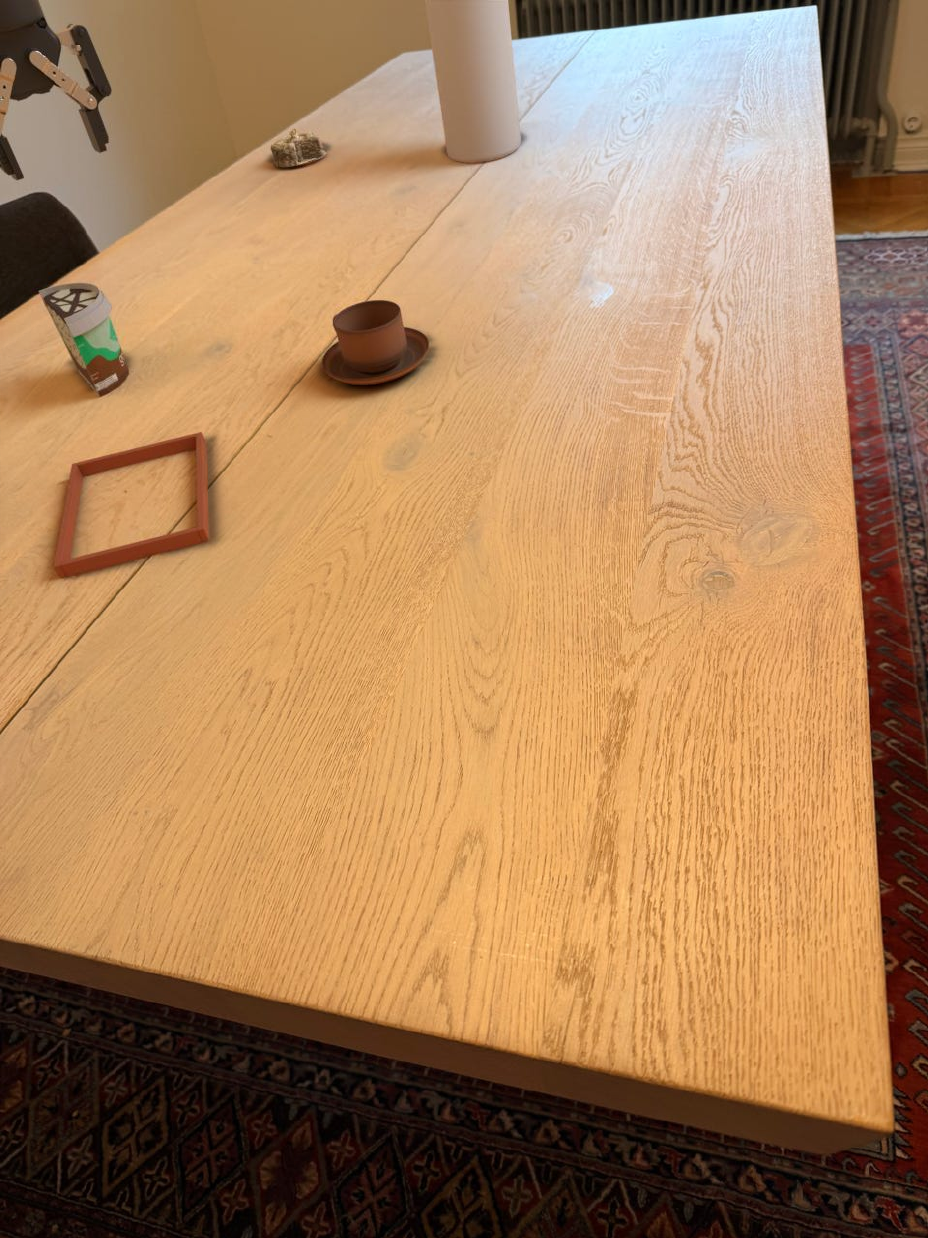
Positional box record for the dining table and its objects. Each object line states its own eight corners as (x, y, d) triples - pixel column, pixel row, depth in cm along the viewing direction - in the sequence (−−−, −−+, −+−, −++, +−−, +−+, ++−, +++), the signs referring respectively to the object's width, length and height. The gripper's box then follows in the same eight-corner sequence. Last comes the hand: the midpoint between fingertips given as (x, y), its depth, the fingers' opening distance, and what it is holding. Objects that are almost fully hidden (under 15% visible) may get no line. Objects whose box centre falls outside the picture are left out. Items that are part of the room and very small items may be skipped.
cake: (263, 171, 164) (252, 139, 161) (299, 153, 170) (290, 122, 167) (301, 169, 159) (291, 136, 156) (338, 151, 164) (329, 118, 161)
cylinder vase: (485, 135, 159) (465, -38, 142) (537, 143, 151) (522, -38, 134) (432, 158, 154) (405, -19, 137) (483, 168, 146) (460, -18, 129)
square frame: (65, 588, 80) (53, 566, 78) (82, 484, 92) (71, 463, 91) (213, 550, 81) (203, 528, 79) (209, 452, 93) (201, 431, 91)
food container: (152, 380, 107) (118, 299, 100) (103, 401, 105) (65, 319, 98) (120, 348, 115) (87, 271, 108) (74, 366, 113) (37, 289, 106)
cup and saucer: (307, 391, 100) (292, 339, 95) (355, 339, 107) (343, 289, 103) (405, 398, 95) (393, 344, 91) (448, 344, 103) (439, 291, 99)
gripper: (43, -55, 83) (114, 137, 94) (-116, -18, 78) (-21, 180, 89) (69, -54, 78) (140, 148, 89) (-99, -15, 73) (-1, 194, 84)
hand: (60, 164), depth 89 cm, fingers open, 8 cm apart
